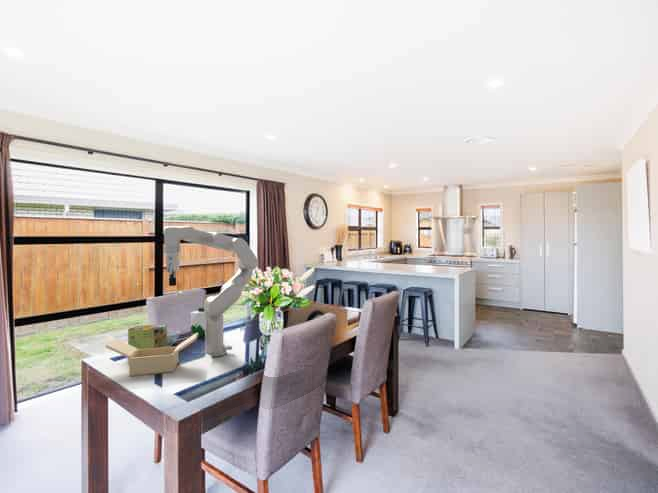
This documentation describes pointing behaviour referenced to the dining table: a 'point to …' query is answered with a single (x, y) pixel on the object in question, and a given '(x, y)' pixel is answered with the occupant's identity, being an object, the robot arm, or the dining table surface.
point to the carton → (153, 361)
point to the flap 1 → (121, 348)
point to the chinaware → (172, 337)
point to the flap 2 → (186, 343)
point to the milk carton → (198, 322)
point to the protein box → (148, 336)
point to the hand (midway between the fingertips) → (172, 285)
